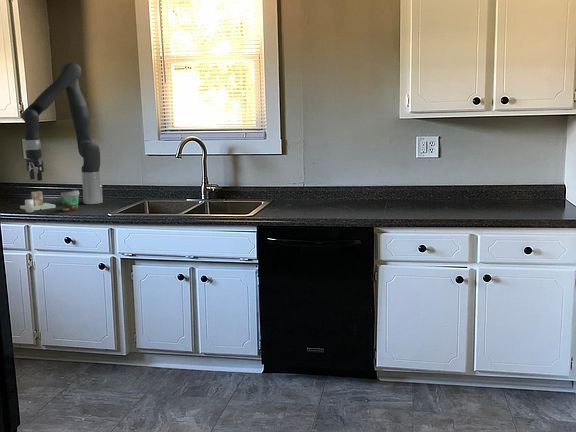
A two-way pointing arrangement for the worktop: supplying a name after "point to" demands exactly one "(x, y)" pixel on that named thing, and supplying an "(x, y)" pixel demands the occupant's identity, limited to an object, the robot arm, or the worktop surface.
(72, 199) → the food container
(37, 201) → the ash block
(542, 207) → the worktop surface
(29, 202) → the ceramic jar
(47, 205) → the cutting board
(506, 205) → the worktop surface
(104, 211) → the worktop surface
